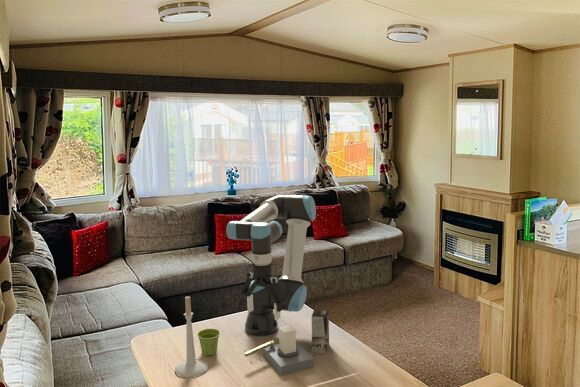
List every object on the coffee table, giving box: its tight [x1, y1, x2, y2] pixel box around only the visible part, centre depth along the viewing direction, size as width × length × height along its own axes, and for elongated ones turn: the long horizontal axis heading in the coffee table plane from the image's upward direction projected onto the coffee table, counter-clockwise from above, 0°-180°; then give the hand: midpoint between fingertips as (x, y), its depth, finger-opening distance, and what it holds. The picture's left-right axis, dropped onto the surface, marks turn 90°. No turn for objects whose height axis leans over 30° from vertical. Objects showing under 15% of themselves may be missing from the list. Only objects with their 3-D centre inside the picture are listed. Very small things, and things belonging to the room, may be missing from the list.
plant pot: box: [196, 328, 221, 357], centre depth 204 cm, size 9×9×9 cm
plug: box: [277, 324, 298, 358], centre depth 194 cm, size 8×8×14 cm
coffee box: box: [311, 308, 330, 354], centre depth 205 cm, size 9×6×16 cm
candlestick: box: [174, 295, 209, 378], centre depth 189 cm, size 13×13×30 cm
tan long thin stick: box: [244, 339, 276, 357], centre depth 195 cm, size 15×2×1 cm, turn 135°
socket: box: [262, 341, 315, 376], centre depth 195 cm, size 18×14×5 cm
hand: (263, 315), depth 192 cm, fingers open, 13 cm apart
